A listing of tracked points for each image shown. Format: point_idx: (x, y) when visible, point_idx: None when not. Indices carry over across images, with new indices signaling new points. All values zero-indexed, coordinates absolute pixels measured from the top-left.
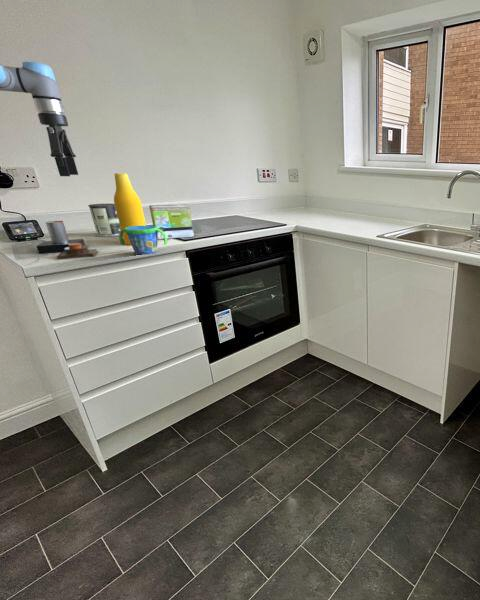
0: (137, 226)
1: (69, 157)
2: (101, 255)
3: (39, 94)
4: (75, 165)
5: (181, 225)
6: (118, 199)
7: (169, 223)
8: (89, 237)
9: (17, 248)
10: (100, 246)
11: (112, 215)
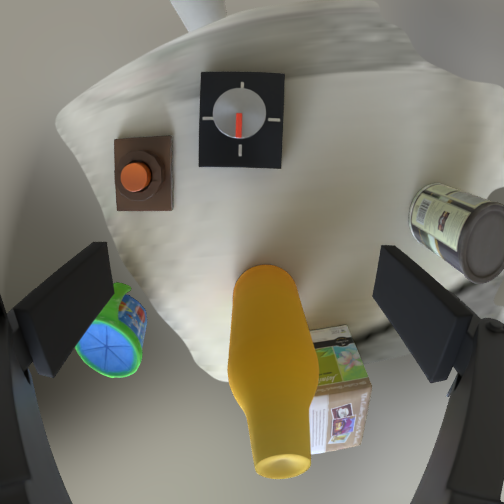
0: (129, 344)
1: (439, 357)
2: (127, 225)
3: None
4: (401, 335)
5: None
6: (237, 362)
7: None
8: (415, 165)
9: (310, 18)
10: (253, 205)
11: (444, 255)
